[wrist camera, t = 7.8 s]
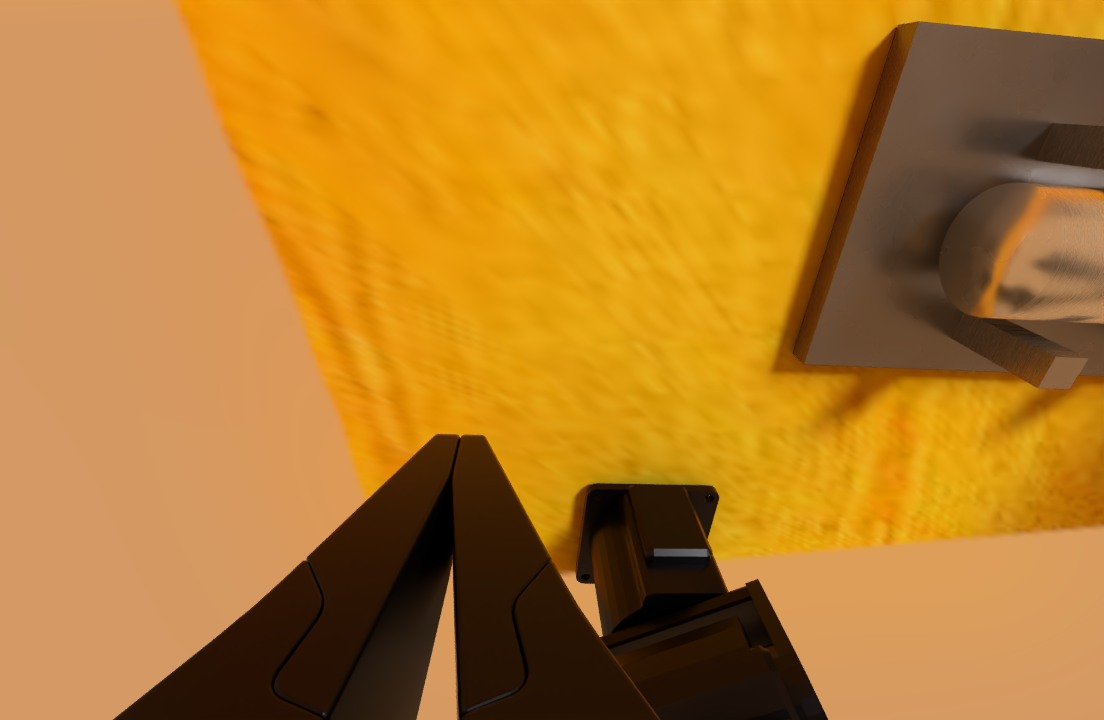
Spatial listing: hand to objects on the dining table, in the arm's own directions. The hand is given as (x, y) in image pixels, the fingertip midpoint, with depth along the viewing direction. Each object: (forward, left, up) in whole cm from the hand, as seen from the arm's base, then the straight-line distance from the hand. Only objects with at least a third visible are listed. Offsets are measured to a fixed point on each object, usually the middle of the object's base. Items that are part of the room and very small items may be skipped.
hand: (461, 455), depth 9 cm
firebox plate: (+3, -23, -12) cm, 26 cm away
